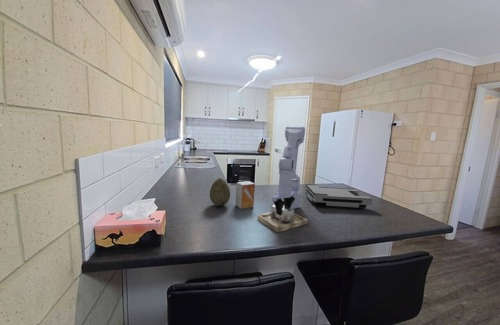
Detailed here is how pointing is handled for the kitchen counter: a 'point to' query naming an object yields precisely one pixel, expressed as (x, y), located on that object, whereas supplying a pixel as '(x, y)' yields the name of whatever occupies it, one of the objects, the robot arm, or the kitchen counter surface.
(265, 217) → the tray
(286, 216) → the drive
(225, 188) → the decorative egg
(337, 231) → the kitchen counter surface
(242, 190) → the small box
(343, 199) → the game console
